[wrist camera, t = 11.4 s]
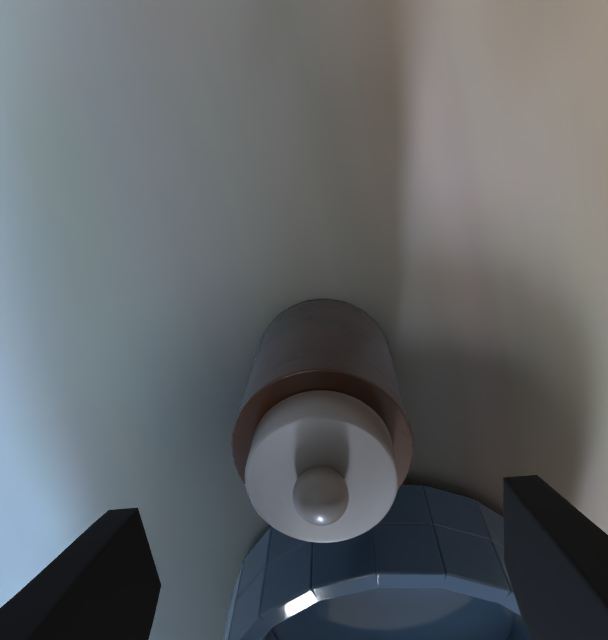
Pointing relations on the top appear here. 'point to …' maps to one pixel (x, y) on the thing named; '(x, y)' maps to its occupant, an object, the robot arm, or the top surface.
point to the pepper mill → (322, 424)
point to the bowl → (384, 579)
